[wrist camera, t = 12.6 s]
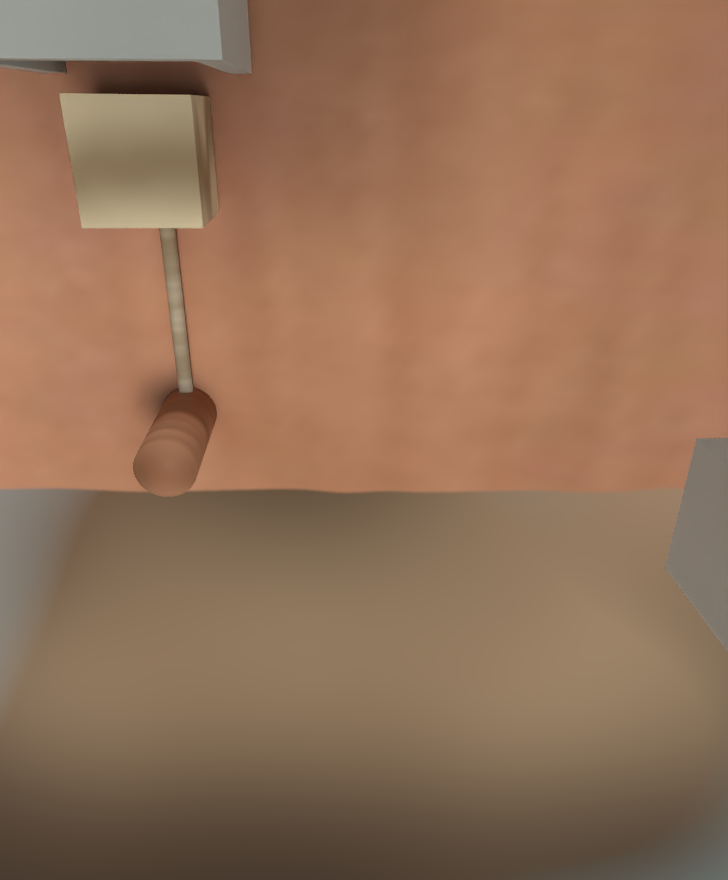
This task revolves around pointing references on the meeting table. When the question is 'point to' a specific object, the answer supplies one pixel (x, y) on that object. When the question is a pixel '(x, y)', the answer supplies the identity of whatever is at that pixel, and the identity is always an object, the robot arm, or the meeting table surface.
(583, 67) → the meeting table surface
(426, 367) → the meeting table surface
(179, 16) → the box
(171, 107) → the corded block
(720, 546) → the robot arm
